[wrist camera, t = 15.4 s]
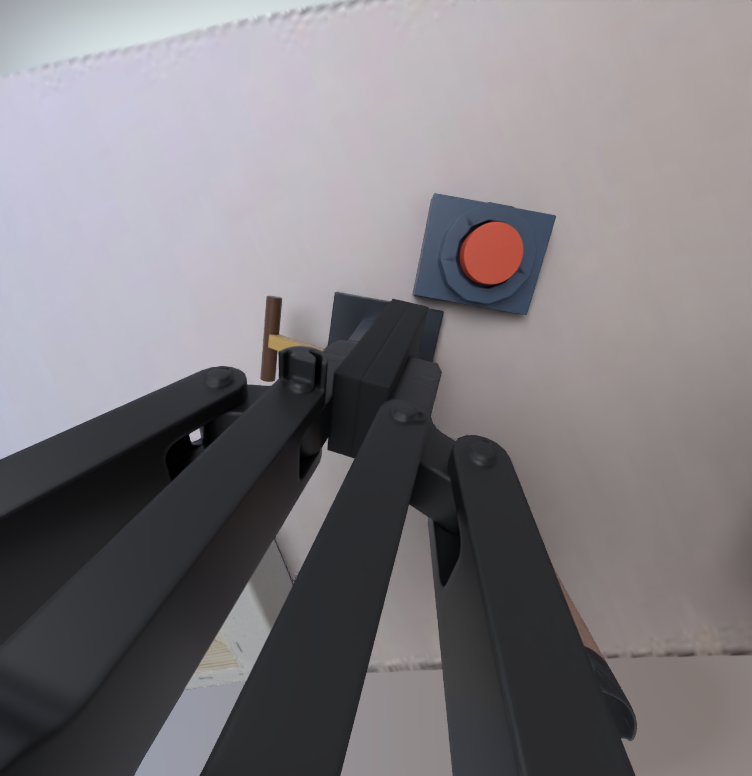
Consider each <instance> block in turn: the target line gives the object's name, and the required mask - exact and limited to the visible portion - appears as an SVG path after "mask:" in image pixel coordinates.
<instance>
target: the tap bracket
mask: <svg viewBox="0 0 752 776" xmlns="http://www.w3.org/2000/svg"><path fill="white" fill-rule="evenodd" d="M389 303H390V301H385V300H379V299H373V298H368V297H362V296H357V295H351V294H345V293H340V292H335V296H334V303H333V311H332V319H331V326H330V334H329V341H328V345H329V344H331V343H334V342H336V341H339V340H343V341H347V342H351V343H355V344H357V343H358V342H359V340H360V339H361V338H362V337H363V336H364V334H365V333H366V332H367V331H368V329H369V328H370V327H371V326H372V324H373V323H374V322H375V321H376V319H377V318H378V317H379V316H380V314H381V313H382V312H383V311H384V309H385V308H386V307H387V306H388V304H389ZM442 317H443V311H440V310H435V309H429V308H428V311H427V315H426V320H425V324H424V328H423V333H422V337H421V341H420V346H419V350H418V354H417V358H418V359H422V360H426V361H429V362H432V361H433V357H434V352H435V348H436V343H437V339H438V335H439V330H440V326H441V321H442Z"/></svg>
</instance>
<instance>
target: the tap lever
mask: <svg viewBox="0 0 752 776" xmlns="http://www.w3.org/2000/svg"><path fill="white" fill-rule="evenodd" d="M281 307H282V298H280V297H275V296H267V299H266V312H265V326H264V339H263V352H262V366H261V380H263V381H267V382H272V381H275V375H276V364H277V352H278V351H281V350H283V349H285V348H288V347H293V346H306V347H313V348H316V349H318V350H321V351H322V352H323V350H324V349H321V348H318V347H315V346H312V345H309V344H306V343H303V342H300V341H297V340H295V339H292V338H289V337H286V336H283V335H280V334H279V329H280V318H281Z"/></svg>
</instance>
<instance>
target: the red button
mask: <svg viewBox="0 0 752 776" xmlns="http://www.w3.org/2000/svg"><path fill="white" fill-rule="evenodd" d="M522 258H523V242H522V239H521V237H520V235H519V233H518V232H517V231H516V230H515V229H514V228H513V227H512V226H510V225H509V224H506V223H503V222H490V223H487V224H484V225H482V226H480V227H479V228H477V229H476V230H474V231H473V232H471V233H470V234H469V235H468V236H467V238H466V239H465V240H464V242H463V244H462V247H461V250H460V265H461V268H462V270H463V272H464V274H465V275H466V276H467V277H468V278H469V279H470V280H472V281H473V282H476V283H479V284H498V283H501V282H503V281H505V280H507V279H509V278H510V277H511V276H512V275H513V274H514V273H515V272H516V271H517V269H518V268H519V266H520V264H521V261H522Z"/></svg>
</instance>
